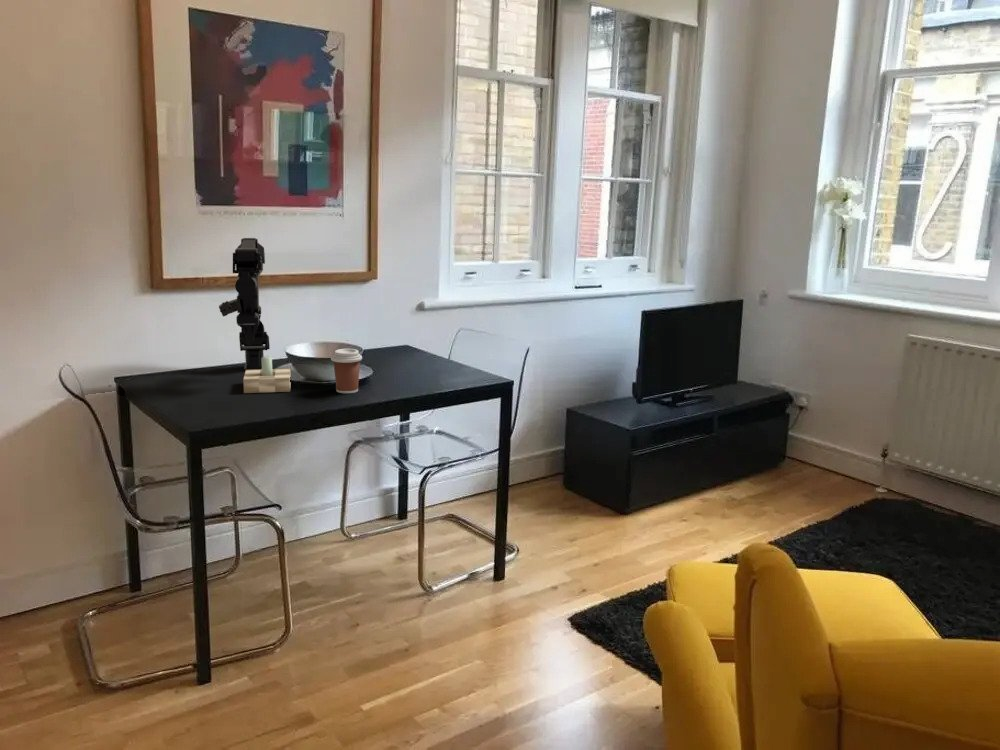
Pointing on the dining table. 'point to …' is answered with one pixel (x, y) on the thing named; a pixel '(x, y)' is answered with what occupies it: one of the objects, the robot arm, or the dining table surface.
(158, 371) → the dining table surface
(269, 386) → the hole board
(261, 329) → the robot arm
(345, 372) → the coffee cup
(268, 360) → the peg
